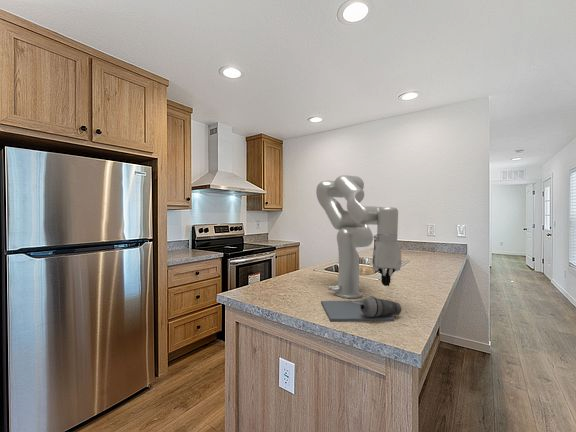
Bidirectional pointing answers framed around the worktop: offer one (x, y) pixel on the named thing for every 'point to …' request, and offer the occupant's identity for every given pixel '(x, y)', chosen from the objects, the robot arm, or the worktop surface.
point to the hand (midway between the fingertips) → (385, 285)
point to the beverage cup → (379, 307)
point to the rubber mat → (349, 312)
